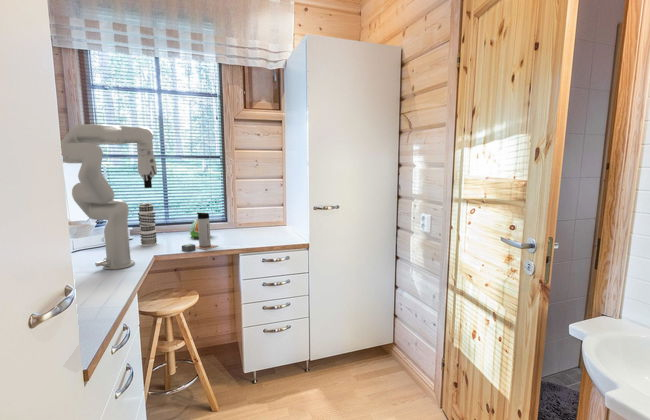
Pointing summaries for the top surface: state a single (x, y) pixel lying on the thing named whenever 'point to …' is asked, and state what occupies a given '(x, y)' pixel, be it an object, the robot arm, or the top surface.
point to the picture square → (206, 247)
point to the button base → (188, 248)
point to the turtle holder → (194, 229)
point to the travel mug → (204, 230)
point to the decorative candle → (147, 224)
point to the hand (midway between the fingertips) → (148, 187)
